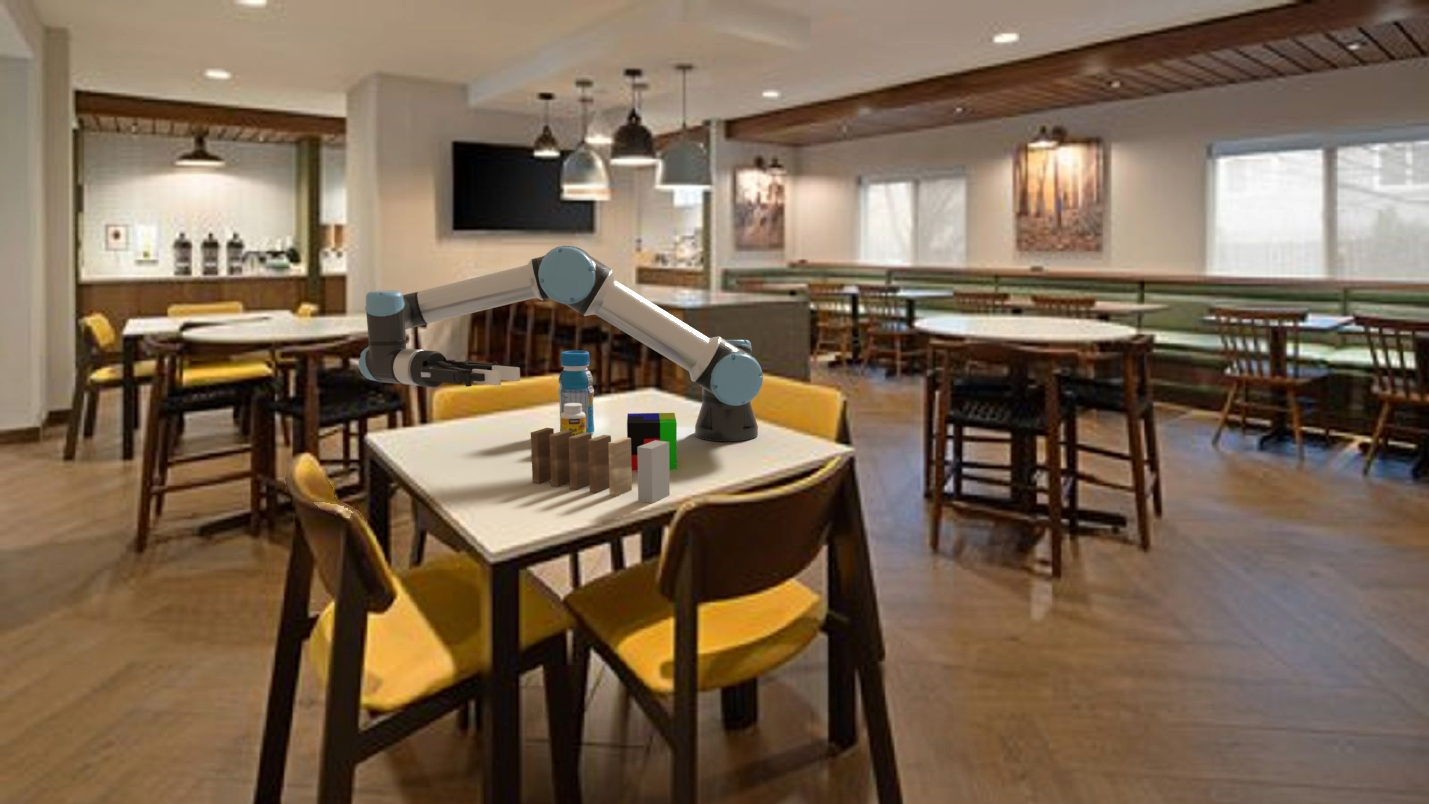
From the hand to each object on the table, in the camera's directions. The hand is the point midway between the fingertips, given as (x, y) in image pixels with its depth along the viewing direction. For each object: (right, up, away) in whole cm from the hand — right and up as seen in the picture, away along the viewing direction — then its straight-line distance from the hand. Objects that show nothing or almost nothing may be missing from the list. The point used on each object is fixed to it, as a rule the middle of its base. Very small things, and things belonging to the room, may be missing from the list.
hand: (508, 376), depth 172 cm
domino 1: (+7, -20, 0) cm, 21 cm away
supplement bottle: (+9, -16, +26) cm, 31 cm away
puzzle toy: (+27, -18, +13) cm, 35 cm away
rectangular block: (+29, -23, -12) cm, 39 cm away
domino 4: (+19, -22, -6) cm, 29 cm away
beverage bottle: (+7, -13, +41) cm, 43 cm away
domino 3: (+15, -21, -4) cm, 26 cm away
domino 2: (+11, -21, -2) cm, 23 cm away
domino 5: (+23, -22, -8) cm, 33 cm away
